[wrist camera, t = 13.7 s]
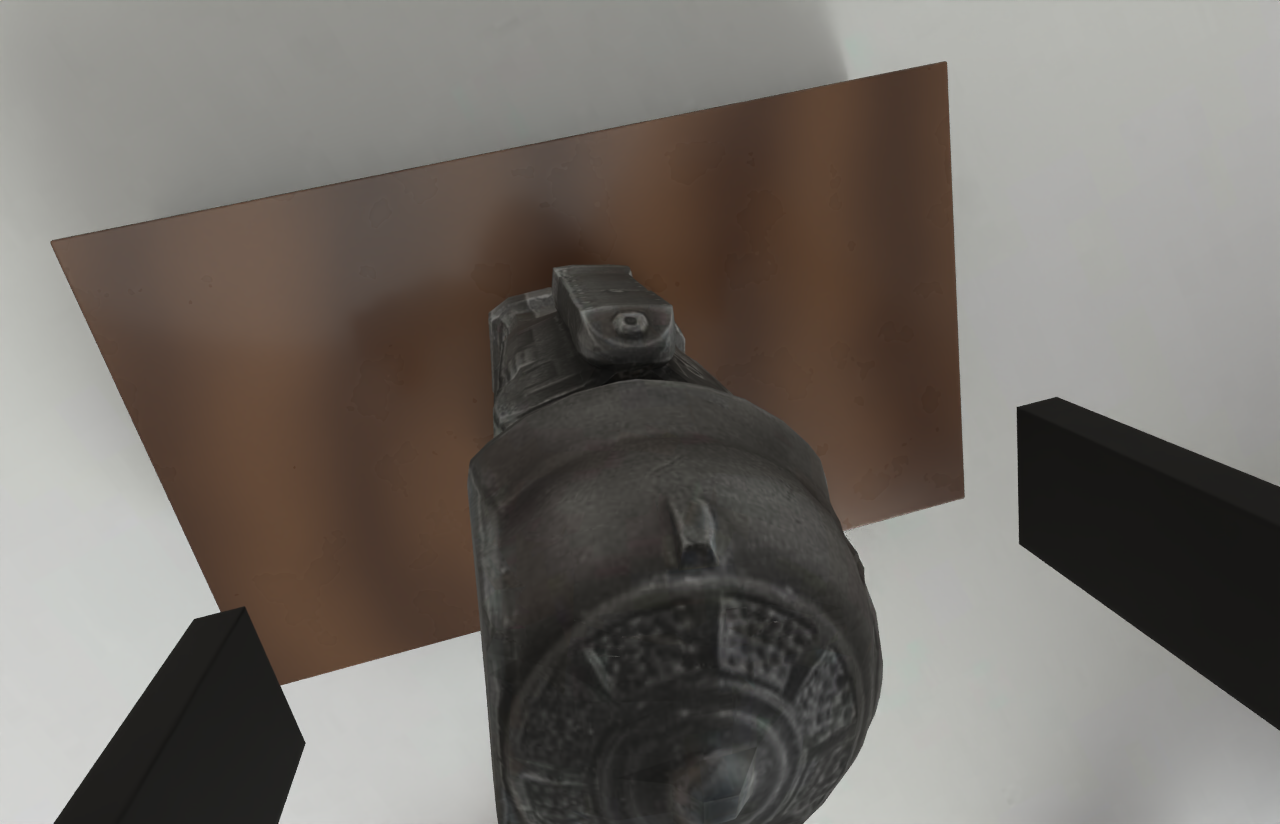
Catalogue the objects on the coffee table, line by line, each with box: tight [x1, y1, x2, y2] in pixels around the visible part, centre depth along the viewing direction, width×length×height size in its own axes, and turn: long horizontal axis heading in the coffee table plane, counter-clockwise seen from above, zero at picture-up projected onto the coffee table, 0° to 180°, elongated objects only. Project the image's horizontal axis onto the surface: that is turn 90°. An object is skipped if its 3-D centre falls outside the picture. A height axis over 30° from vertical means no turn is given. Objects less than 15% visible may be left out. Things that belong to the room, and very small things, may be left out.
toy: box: [467, 264, 883, 824], centre depth 15 cm, size 8×6×15 cm
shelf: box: [50, 61, 965, 685], centre depth 25 cm, size 24×14×6 cm, turn 101°
